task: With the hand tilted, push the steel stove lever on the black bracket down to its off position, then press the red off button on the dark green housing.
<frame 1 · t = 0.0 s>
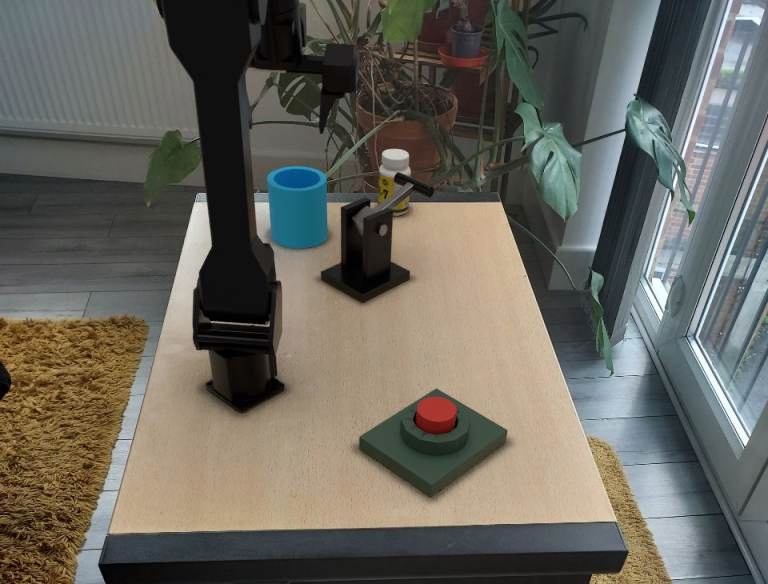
hand: (286, 129, 101), 15 cm above the table, tool pointing down, fingers open, 9 cm apart
supplement bottle: (393, 211, 121), on the table
stove lever: (388, 204, 101), point 9 cm above the table, hinge at 15.0°
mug: (298, 230, 115), on the table
off switch: (433, 445, 82), on the table
off button: (436, 415, 79), point 4 cm above the table, slide at 0.1 cm
lever bracket: (365, 279, 106), on the table
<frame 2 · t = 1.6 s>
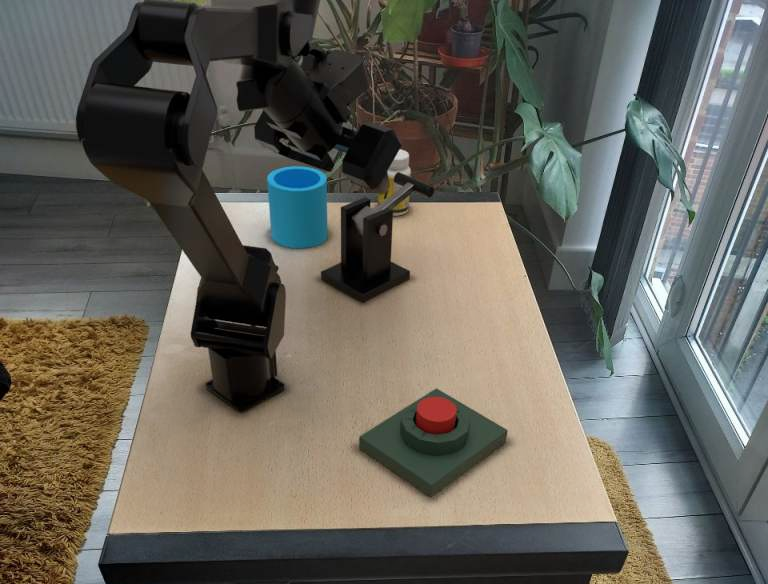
hand: (358, 178, 96), 13 cm above the table, tool tilted 45°, fingers open, 9 cm apart
nothing on the table moved.
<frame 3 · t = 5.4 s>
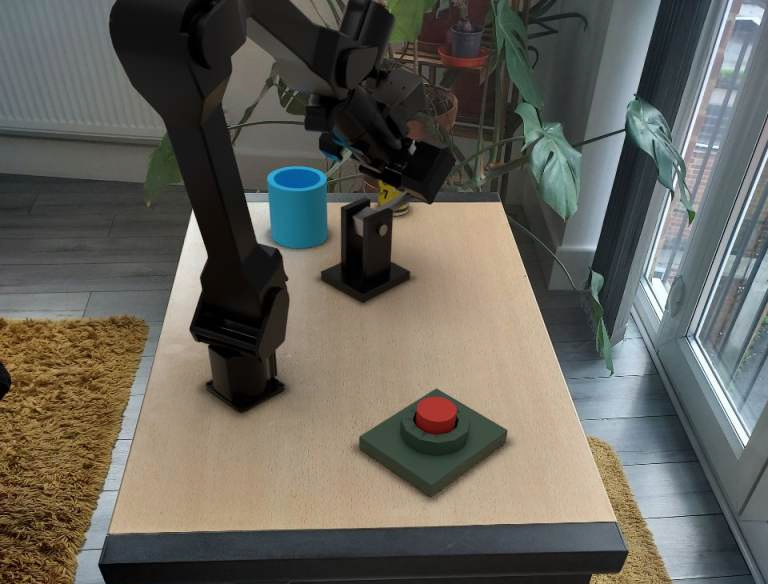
hand: (414, 185, 103), 10 cm above the table, tool tilted 45°, fingers closed
stove lever: (389, 207, 102), point 9 cm above the table, hinge at 8.6°
everything else where it was.
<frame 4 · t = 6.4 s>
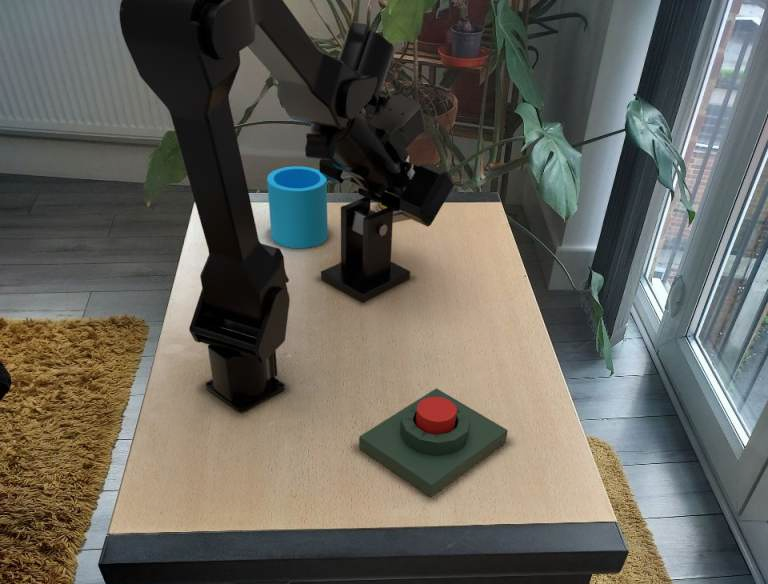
hand: (412, 207, 105), 7 cm above the table, tool tilted 45°, fingers closed, pressing on lever bracket, stove lever
stove lever: (388, 218, 103), point 7 cm above the table, hinge at -10.3°, touching gripper
everything else where it was.
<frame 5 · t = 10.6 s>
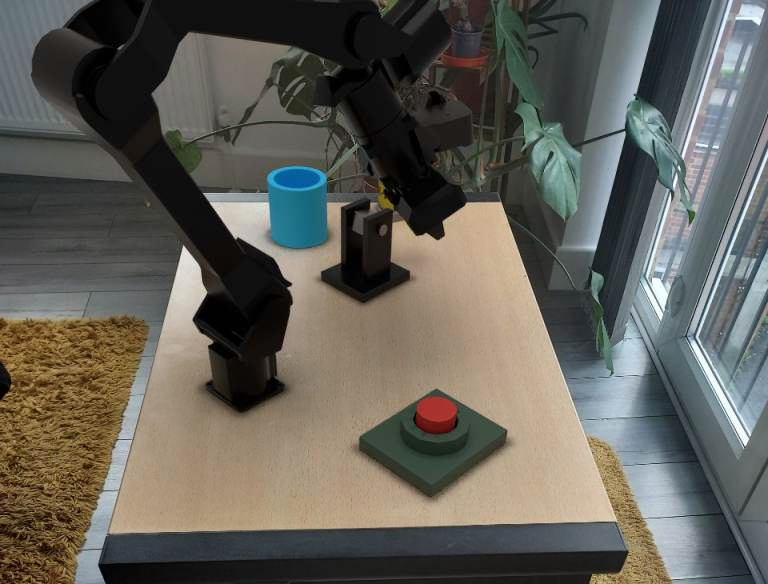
hand: (440, 236, 91), 11 cm above the table, tool tilted 30°, fingers closed
stove lever: (388, 218, 103), point 7 cm above the table, hinge at -10.3°
everything else where it was.
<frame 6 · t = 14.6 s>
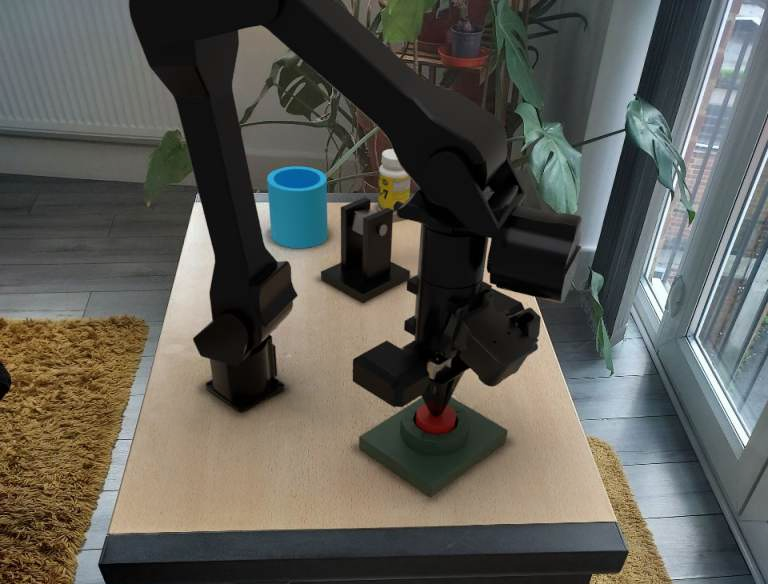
hand: (435, 414, 79), 4 cm above the table, tool pointing down, fingers closed, pressing on off button
off button: (435, 420, 80), point 3 cm above the table, slide at -0.6 cm, touching gripper
everything else where it was.
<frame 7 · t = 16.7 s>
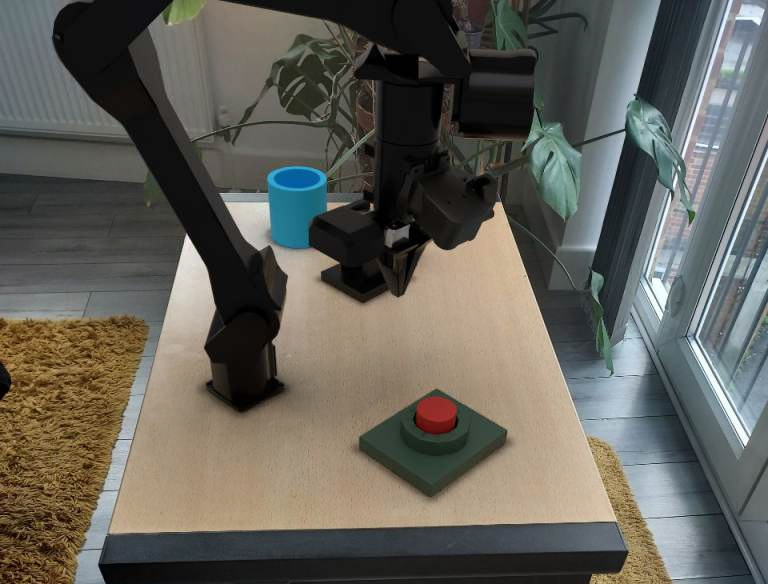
hand: (397, 295, 79), 12 cm above the table, tool pointing down, fingers closed
off button: (436, 415, 79), point 4 cm above the table, slide at 0.1 cm
everything else where it was.
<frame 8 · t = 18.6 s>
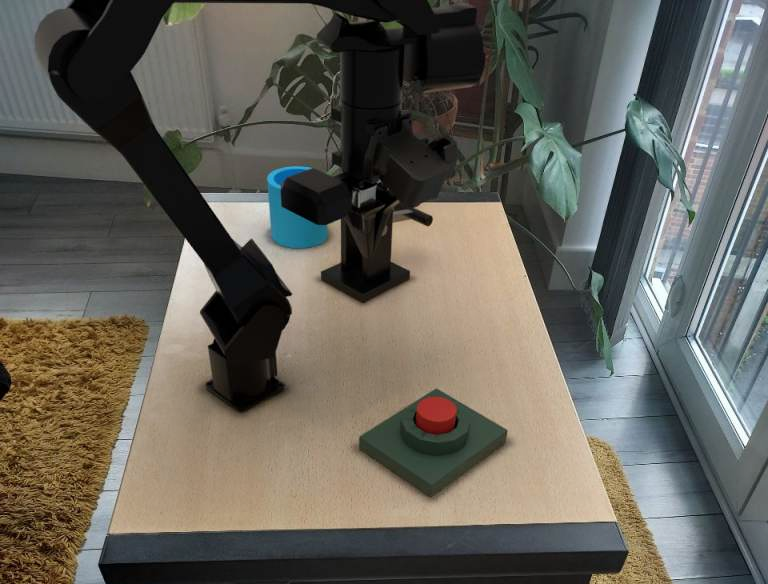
hand: (367, 256, 84), 13 cm above the table, tool pointing down, fingers closed
nothing on the table moved.
at the end: stove lever at -10° (first picture: +15°); off button pushed in 1.1 cm at the most during the clip, back to where it started at the end; off button slide at 0.1 cm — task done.
